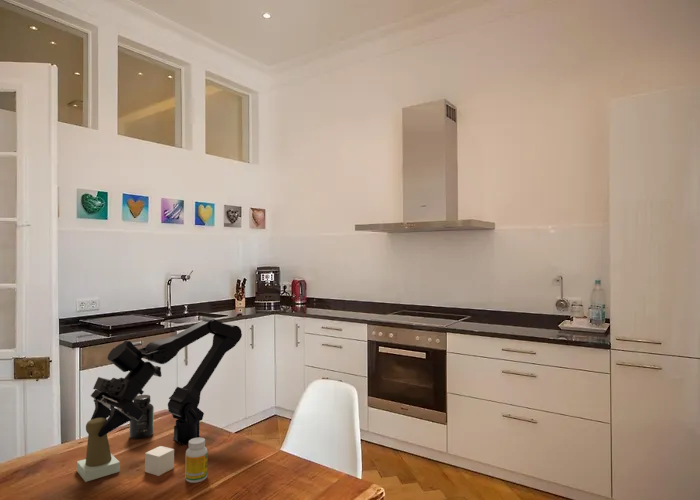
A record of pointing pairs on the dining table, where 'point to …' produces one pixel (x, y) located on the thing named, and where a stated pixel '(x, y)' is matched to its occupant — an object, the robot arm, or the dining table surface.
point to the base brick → (97, 469)
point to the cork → (97, 444)
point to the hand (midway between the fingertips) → (93, 433)
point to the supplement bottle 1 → (143, 419)
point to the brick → (159, 460)
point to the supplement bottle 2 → (196, 461)
